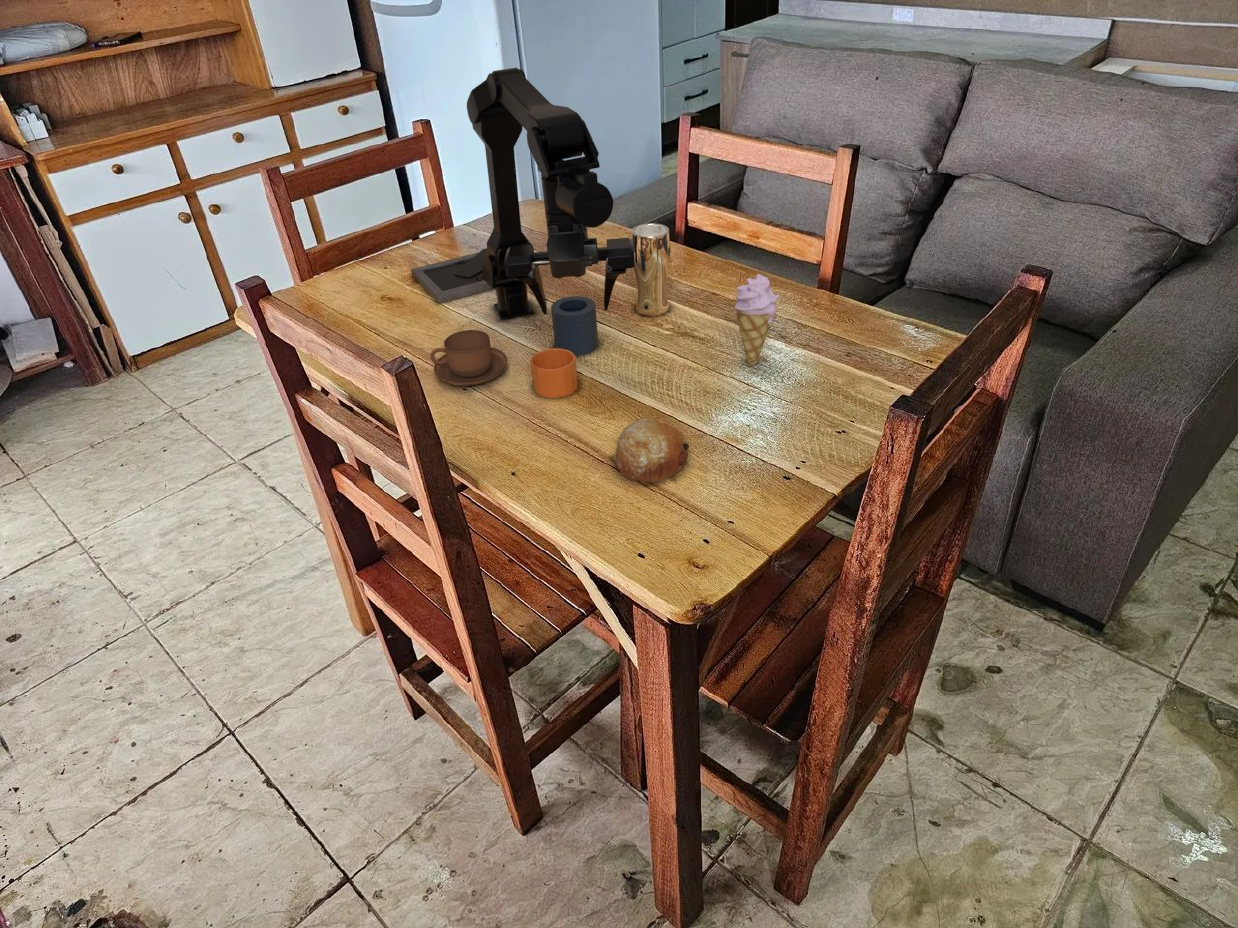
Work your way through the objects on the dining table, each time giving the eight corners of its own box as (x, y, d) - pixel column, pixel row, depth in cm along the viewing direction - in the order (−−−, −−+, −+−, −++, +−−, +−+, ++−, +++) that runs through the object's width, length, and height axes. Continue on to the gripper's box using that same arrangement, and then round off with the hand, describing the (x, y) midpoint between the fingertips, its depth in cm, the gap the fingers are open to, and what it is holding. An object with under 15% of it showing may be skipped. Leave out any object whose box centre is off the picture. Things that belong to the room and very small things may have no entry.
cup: (529, 380, 134) (526, 353, 131) (570, 372, 136) (568, 345, 133) (540, 401, 129) (536, 373, 126) (583, 392, 131) (580, 364, 128)
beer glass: (668, 318, 150) (666, 238, 141) (630, 316, 152) (626, 236, 143) (673, 301, 156) (672, 223, 147) (637, 299, 157) (634, 222, 148)
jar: (550, 340, 145) (546, 300, 141) (590, 332, 147) (588, 293, 143) (561, 359, 140) (557, 318, 135) (603, 350, 141) (601, 310, 137)
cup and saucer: (449, 400, 131) (442, 365, 127) (426, 368, 139) (419, 335, 136) (519, 379, 135) (514, 345, 131) (493, 349, 144) (488, 317, 140)
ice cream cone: (777, 357, 137) (784, 271, 128) (770, 375, 132) (777, 288, 123) (738, 352, 139) (741, 267, 130) (729, 370, 134) (733, 284, 125)
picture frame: (505, 252, 179) (412, 276, 171) (504, 243, 178) (410, 267, 170) (537, 277, 168) (439, 303, 160) (536, 267, 167) (437, 294, 159)
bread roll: (625, 463, 121) (599, 424, 116) (689, 433, 119) (664, 391, 114) (632, 506, 113) (604, 465, 108) (700, 474, 111) (674, 431, 106)
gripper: (493, 232, 111) (509, 338, 119) (632, 222, 110) (639, 329, 119) (501, 207, 120) (516, 307, 128) (630, 197, 119) (636, 299, 128)
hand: (575, 311), depth 126 cm, fingers open, 9 cm apart
